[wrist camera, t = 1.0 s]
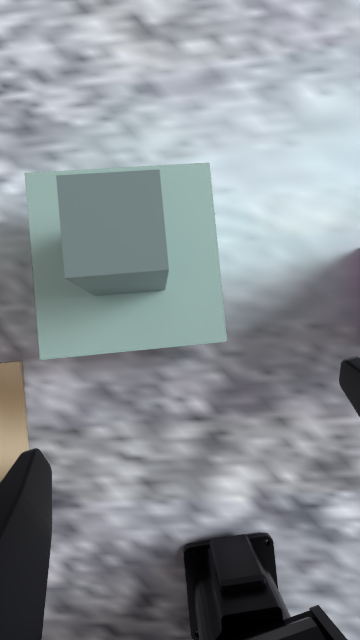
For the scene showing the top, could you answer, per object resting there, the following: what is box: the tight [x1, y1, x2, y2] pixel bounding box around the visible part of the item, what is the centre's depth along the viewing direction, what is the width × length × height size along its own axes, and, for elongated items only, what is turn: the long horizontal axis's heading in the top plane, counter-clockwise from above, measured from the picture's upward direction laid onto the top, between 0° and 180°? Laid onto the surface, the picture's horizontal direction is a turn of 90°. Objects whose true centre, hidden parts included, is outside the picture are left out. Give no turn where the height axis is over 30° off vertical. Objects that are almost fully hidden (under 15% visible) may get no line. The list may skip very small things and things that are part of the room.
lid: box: [25, 163, 227, 360], centre depth 17 cm, size 11×11×8 cm
